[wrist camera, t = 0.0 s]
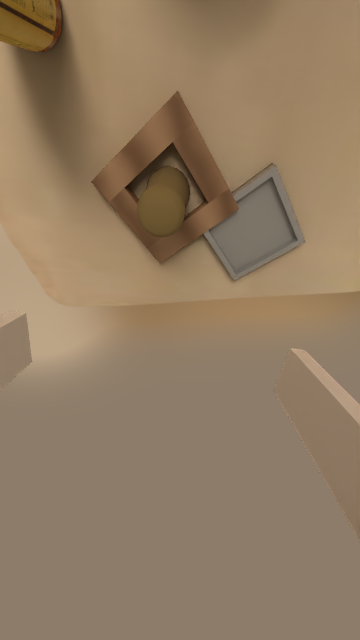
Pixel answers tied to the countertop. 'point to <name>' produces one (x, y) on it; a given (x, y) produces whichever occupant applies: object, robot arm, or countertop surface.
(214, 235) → the tray
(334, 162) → the countertop surface
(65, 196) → the countertop surface
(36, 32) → the sauce bottle
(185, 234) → the socket block
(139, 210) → the olive brown bulbous peg
